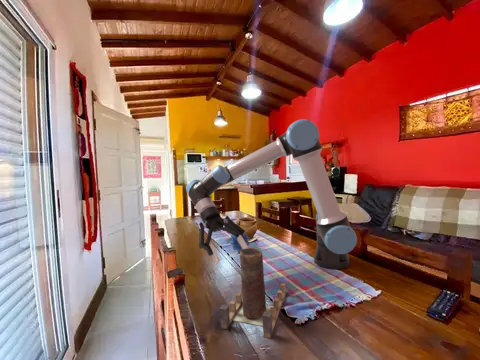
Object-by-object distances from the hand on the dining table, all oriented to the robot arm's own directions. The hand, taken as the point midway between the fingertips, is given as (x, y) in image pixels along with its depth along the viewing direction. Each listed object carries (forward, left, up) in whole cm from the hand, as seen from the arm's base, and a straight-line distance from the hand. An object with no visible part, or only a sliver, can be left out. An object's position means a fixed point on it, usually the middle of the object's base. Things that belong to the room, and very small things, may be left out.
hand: (233, 256), depth 89 cm
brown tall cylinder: (-10, +9, -14) cm, 20 cm away
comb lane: (-10, +6, -14) cm, 19 cm away
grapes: (+14, -41, -15) cm, 45 cm away
